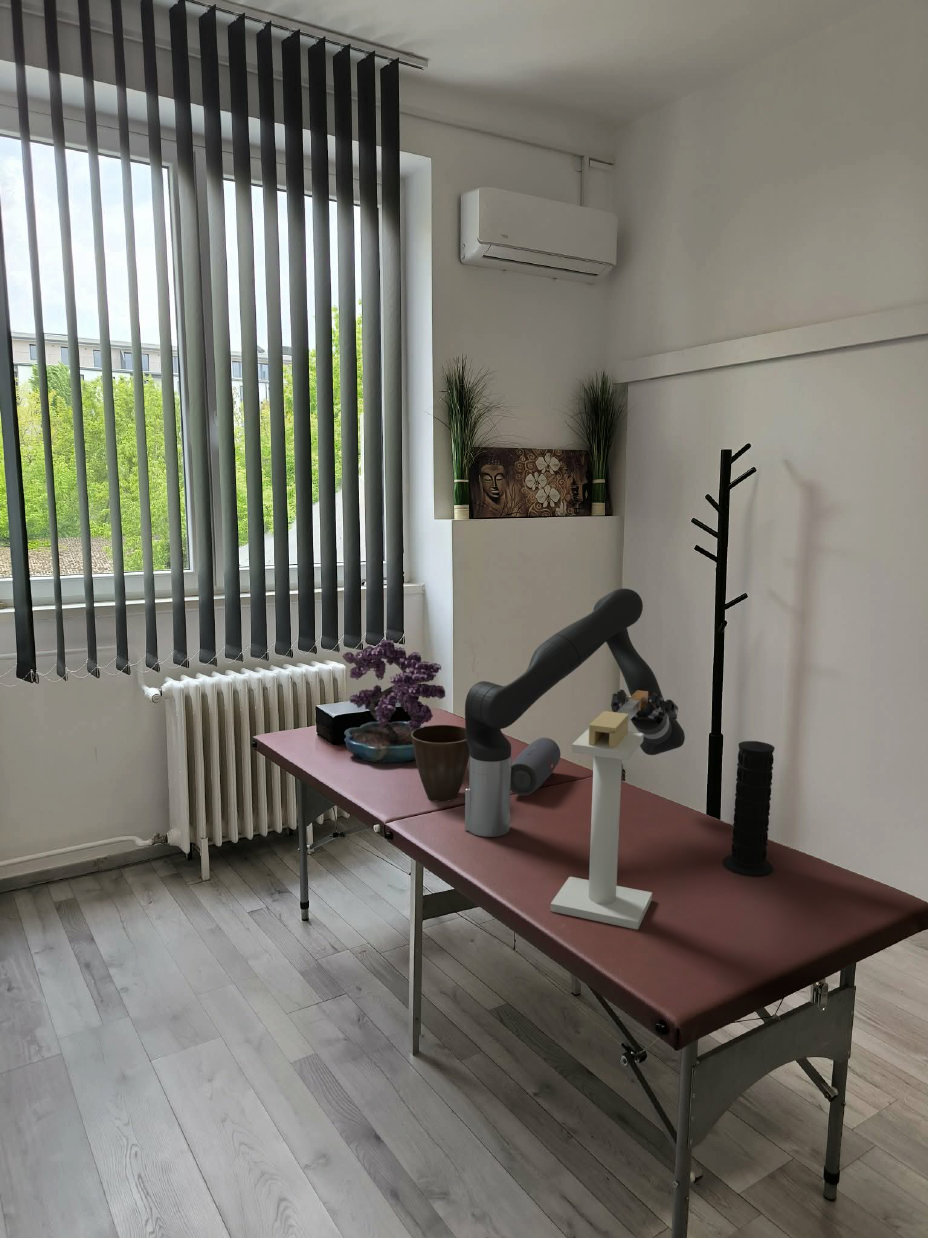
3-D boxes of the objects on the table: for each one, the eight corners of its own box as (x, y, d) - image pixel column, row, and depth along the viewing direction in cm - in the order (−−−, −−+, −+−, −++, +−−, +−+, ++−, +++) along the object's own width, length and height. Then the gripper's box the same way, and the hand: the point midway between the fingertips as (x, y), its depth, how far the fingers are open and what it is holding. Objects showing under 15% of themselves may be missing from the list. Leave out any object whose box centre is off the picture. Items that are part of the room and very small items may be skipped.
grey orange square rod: (606, 732, 163) (607, 720, 162) (636, 701, 186) (637, 690, 185) (618, 734, 162) (619, 722, 162) (647, 702, 185) (648, 691, 184)
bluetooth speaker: (539, 803, 215) (540, 763, 214) (502, 798, 218) (503, 759, 217) (562, 774, 236) (563, 737, 235) (528, 769, 239) (529, 733, 238)
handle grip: (773, 880, 176) (774, 859, 186) (783, 751, 172) (783, 737, 181) (721, 872, 179) (724, 852, 189) (729, 745, 175) (731, 731, 184)
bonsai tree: (325, 745, 258) (324, 634, 252) (409, 732, 271) (410, 627, 266) (377, 782, 228) (376, 657, 223) (468, 766, 242) (470, 648, 236)
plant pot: (450, 812, 209) (451, 746, 206) (399, 799, 217) (399, 735, 214) (483, 793, 221) (484, 731, 219) (433, 781, 229) (433, 721, 226)
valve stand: (550, 911, 163) (556, 722, 157) (569, 883, 174) (575, 706, 168) (637, 929, 157) (647, 733, 151) (651, 900, 167) (661, 716, 161)
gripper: (620, 698, 199) (605, 674, 184) (685, 705, 193) (675, 682, 178) (614, 730, 196) (599, 709, 182) (681, 739, 191) (670, 718, 176)
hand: (637, 696), depth 180 cm, fingers open, 6 cm apart
